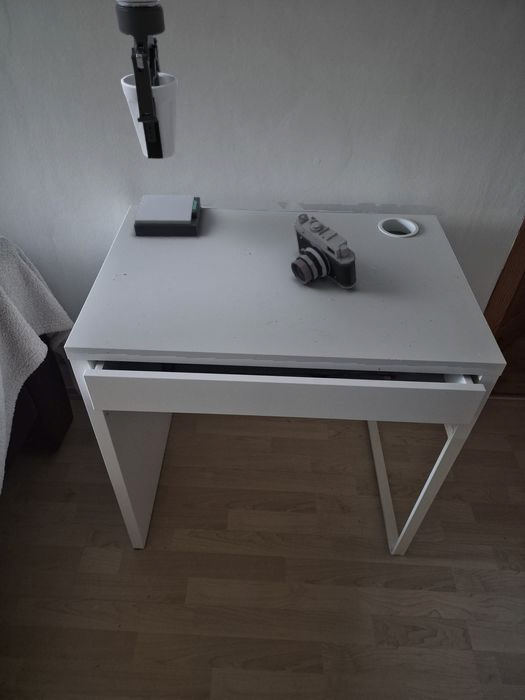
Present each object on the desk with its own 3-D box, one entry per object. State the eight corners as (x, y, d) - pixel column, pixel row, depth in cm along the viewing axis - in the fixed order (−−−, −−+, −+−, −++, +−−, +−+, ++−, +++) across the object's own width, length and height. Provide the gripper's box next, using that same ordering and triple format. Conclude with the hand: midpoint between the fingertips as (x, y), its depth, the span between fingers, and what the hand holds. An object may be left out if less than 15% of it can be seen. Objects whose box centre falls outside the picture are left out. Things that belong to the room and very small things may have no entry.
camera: (275, 266, 91) (266, 227, 83) (308, 245, 92) (302, 205, 85) (324, 308, 82) (319, 269, 74) (360, 283, 83) (358, 242, 76)
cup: (192, 160, 86) (185, 84, 77) (141, 168, 83) (128, 90, 74) (175, 142, 92) (168, 69, 83) (128, 149, 89) (114, 74, 80)
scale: (135, 235, 95) (132, 219, 92) (144, 206, 104) (142, 190, 101) (197, 236, 95) (195, 219, 93) (200, 207, 104) (199, 191, 102)
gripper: (154, 14, 64) (172, 171, 80) (168, -7, 79) (181, 129, 95) (101, 13, 63) (130, 171, 79) (125, -8, 78) (146, 129, 94)
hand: (158, 148), depth 87 cm, fingers closed on cup, 8 cm apart
